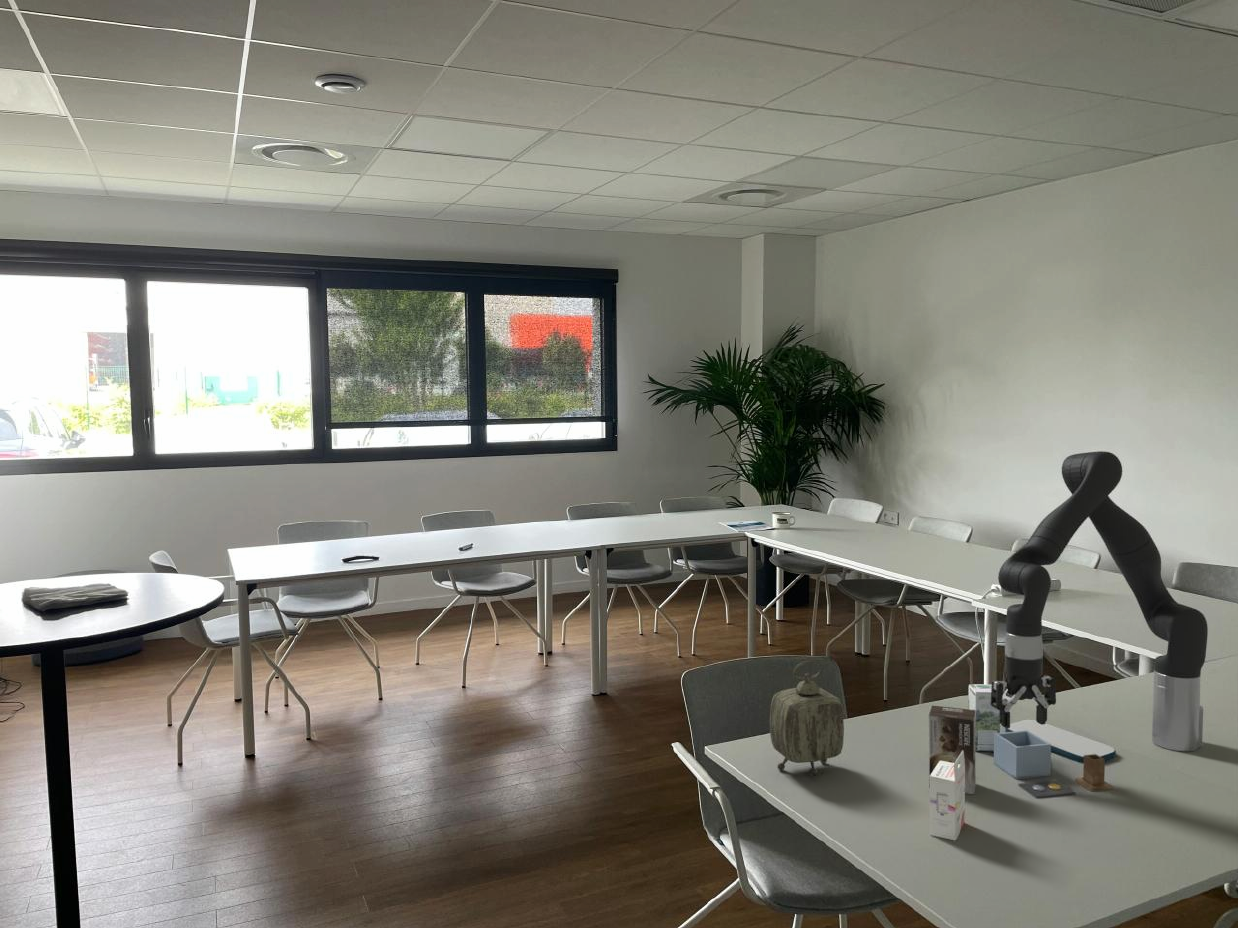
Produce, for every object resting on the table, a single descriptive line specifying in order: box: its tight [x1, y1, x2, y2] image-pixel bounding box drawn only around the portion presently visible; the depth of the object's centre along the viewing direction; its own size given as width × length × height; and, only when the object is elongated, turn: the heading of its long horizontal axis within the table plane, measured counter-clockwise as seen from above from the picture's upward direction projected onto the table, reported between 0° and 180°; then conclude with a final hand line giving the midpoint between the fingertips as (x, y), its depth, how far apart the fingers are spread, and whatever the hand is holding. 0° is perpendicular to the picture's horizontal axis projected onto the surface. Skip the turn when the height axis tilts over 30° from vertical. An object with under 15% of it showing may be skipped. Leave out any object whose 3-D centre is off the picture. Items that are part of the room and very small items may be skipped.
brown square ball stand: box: [1074, 754, 1114, 792], centre depth 187 cm, size 5×5×6 cm
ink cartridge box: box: [929, 751, 966, 841], centre depth 169 cm, size 9×5×15 cm, turn 148°
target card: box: [1018, 779, 1077, 799], centre depth 186 cm, size 9×6×1 cm, turn 100°
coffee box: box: [928, 705, 977, 795], centre depth 188 cm, size 9×6×16 cm
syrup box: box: [967, 683, 1001, 753], centre depth 208 cm, size 6×6×14 cm
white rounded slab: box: [1004, 719, 1117, 765], centre depth 209 cm, size 24×12×2 cm, turn 28°
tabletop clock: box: [769, 660, 845, 777], centre depth 196 cm, size 14×9×25 cm, turn 108°
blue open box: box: [993, 731, 1052, 780], centre depth 195 cm, size 8×8×7 cm
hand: (1023, 725), depth 195 cm, fingers open, 8 cm apart
